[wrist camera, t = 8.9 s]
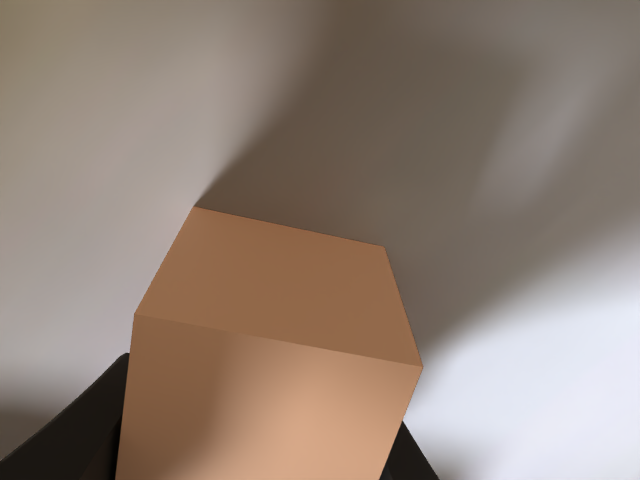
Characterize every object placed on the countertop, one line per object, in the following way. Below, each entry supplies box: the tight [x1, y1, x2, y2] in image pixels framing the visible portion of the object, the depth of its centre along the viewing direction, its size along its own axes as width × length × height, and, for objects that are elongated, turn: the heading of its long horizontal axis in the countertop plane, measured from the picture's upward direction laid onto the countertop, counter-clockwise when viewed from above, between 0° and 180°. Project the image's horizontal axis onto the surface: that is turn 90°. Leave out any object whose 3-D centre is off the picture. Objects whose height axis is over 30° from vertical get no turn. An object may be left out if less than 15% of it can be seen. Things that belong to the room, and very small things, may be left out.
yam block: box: [115, 206, 423, 480], centre depth 10 cm, size 4×7×4 cm, turn 166°
